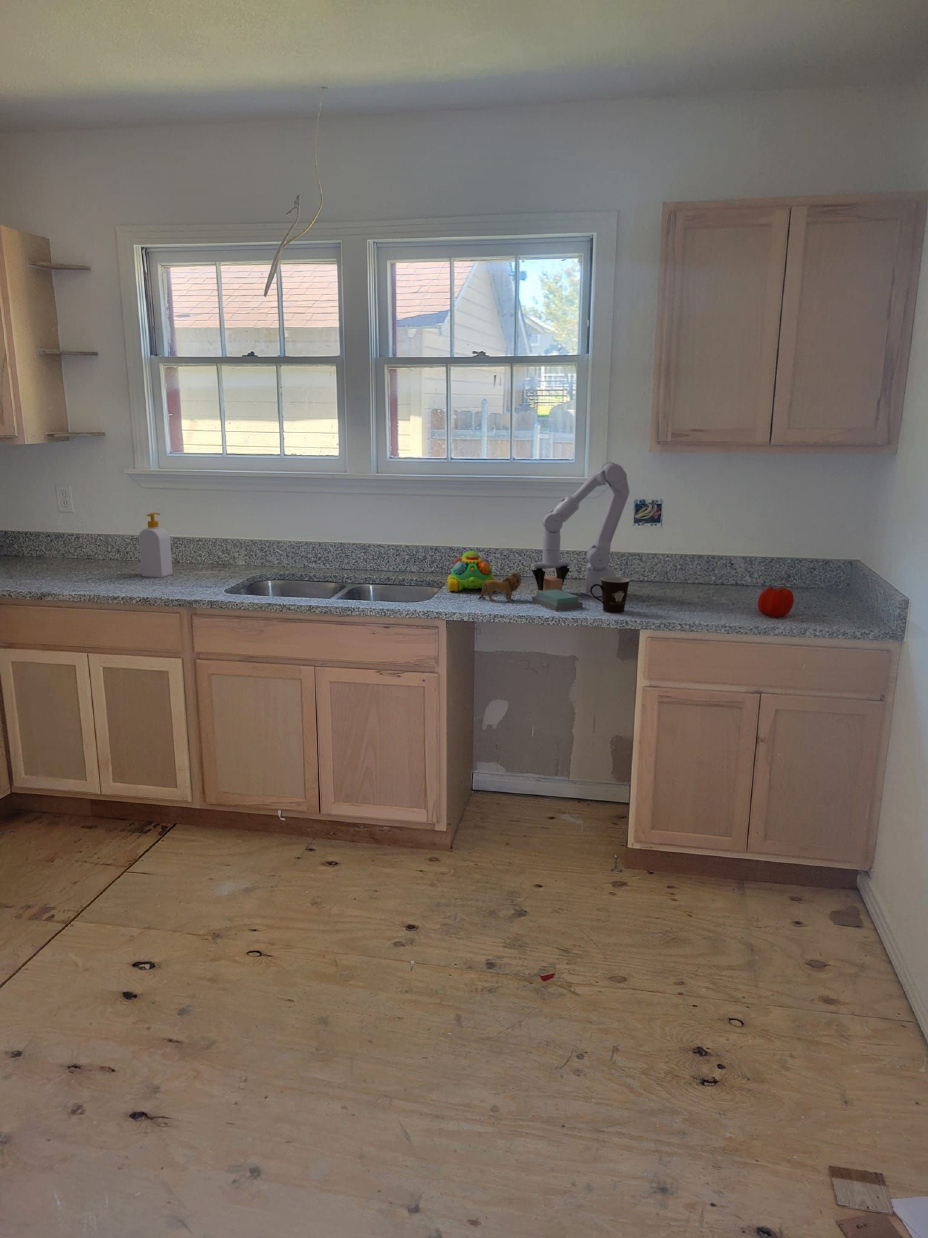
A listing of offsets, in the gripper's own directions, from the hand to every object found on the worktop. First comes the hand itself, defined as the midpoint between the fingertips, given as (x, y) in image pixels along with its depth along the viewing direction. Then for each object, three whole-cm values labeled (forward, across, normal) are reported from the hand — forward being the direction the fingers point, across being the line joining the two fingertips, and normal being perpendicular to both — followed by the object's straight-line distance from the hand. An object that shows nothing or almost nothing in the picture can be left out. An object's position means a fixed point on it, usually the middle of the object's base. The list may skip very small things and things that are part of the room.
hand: (549, 589), depth 281 cm
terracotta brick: (+2, 0, 0) cm, 2 cm away
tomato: (+2, -46, +55) cm, 72 cm away
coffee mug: (+2, -4, +28) cm, 28 cm away
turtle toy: (+2, +20, -20) cm, 28 cm away
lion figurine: (+2, +20, +1) cm, 20 cm away
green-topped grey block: (+2, +7, +15) cm, 17 cm away
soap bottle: (+2, +115, -87) cm, 144 cm away
